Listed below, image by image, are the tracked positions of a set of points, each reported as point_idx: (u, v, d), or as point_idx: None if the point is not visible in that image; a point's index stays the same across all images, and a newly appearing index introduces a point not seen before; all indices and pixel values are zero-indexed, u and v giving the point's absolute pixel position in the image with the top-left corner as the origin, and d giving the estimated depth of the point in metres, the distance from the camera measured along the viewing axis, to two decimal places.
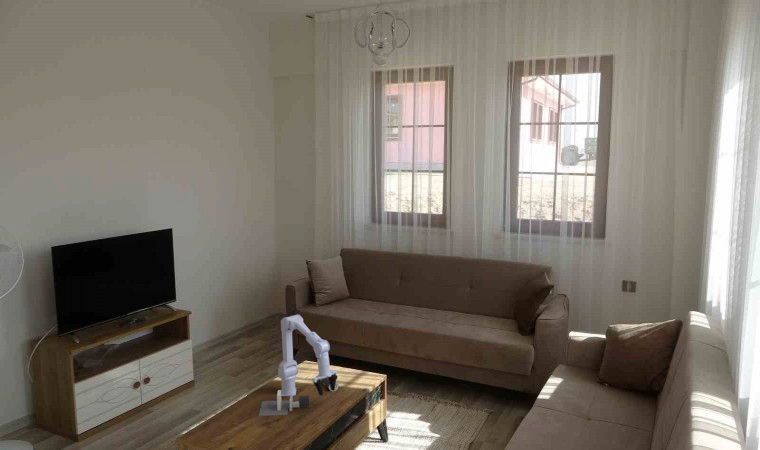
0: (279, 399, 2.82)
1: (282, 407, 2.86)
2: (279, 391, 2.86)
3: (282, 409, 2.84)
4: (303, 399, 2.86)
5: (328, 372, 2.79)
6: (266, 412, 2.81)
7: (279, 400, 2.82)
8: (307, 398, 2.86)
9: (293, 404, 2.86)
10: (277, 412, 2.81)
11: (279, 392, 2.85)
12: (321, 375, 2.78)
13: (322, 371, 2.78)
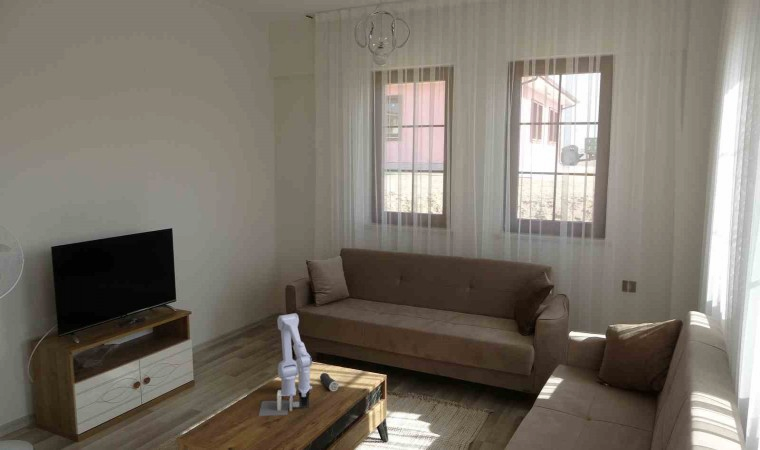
0: (279, 399, 2.82)
1: (282, 407, 2.86)
2: (279, 391, 2.86)
3: (282, 409, 2.84)
4: None
5: (309, 384, 2.86)
6: (266, 412, 2.81)
7: (279, 400, 2.82)
8: None
9: (293, 404, 2.86)
10: (277, 412, 2.81)
11: (279, 392, 2.85)
12: (305, 388, 2.83)
13: (306, 384, 2.83)
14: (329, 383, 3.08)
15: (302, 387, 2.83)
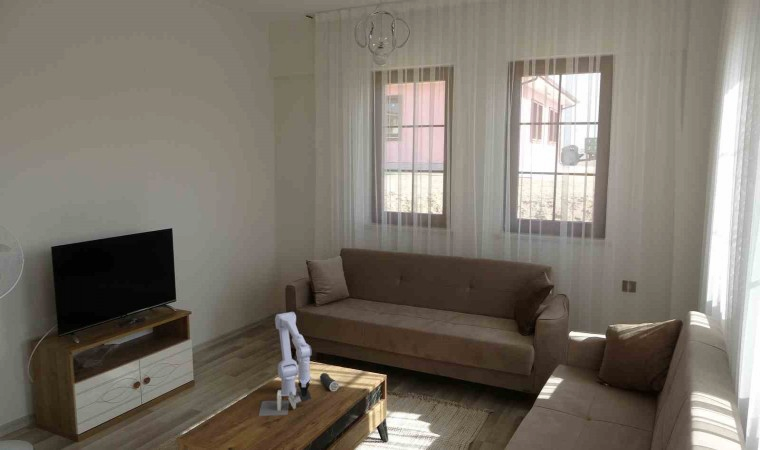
0: (279, 399, 2.82)
1: (282, 407, 2.86)
2: (279, 391, 2.86)
3: (282, 409, 2.84)
4: None
5: (309, 375, 2.86)
6: (266, 412, 2.81)
7: (279, 400, 2.82)
8: None
9: (294, 400, 2.85)
10: (277, 412, 2.81)
11: (279, 392, 2.85)
12: (305, 379, 2.83)
13: (306, 375, 2.83)
14: (329, 383, 3.08)
15: (302, 377, 2.82)
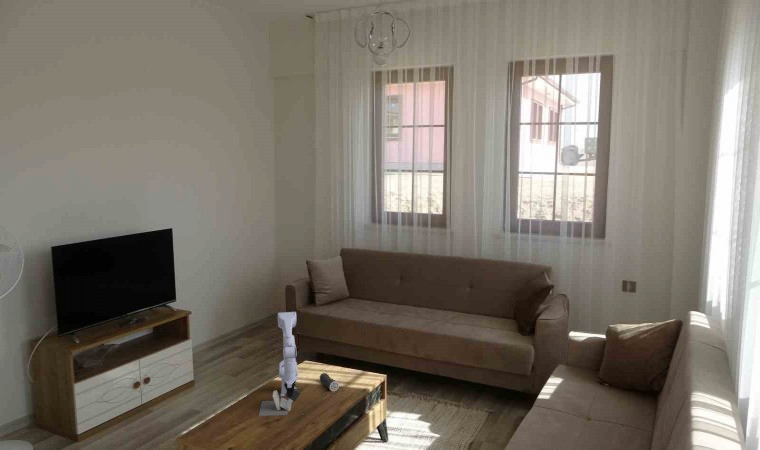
0: (276, 399, 2.82)
1: None
2: (275, 391, 2.86)
3: (282, 409, 2.84)
4: None
5: (295, 375, 2.85)
6: (266, 412, 2.81)
7: (276, 400, 2.82)
8: None
9: (287, 403, 2.85)
10: (277, 412, 2.81)
11: (275, 392, 2.85)
12: (291, 379, 2.82)
13: (292, 375, 2.82)
14: (329, 383, 3.08)
15: (288, 378, 2.82)
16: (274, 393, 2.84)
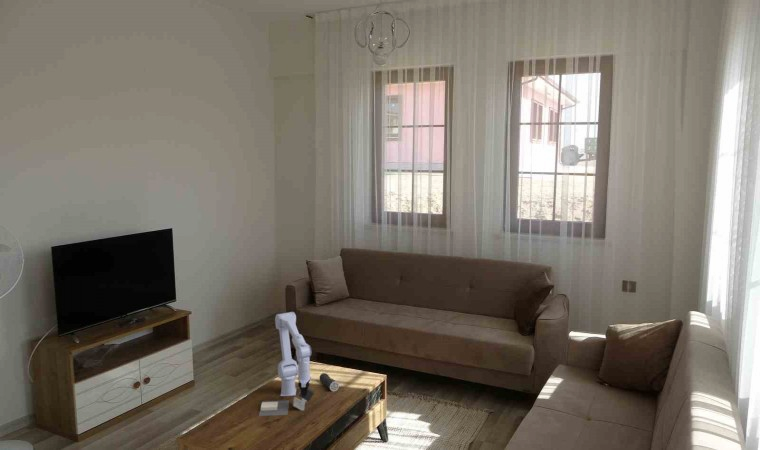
0: (265, 408, 2.82)
1: (282, 407, 2.86)
2: (261, 405, 2.86)
3: (282, 409, 2.84)
4: None
5: None
6: (266, 412, 2.81)
7: (266, 408, 2.82)
8: None
9: (301, 403, 2.86)
10: (277, 412, 2.81)
11: None
12: (305, 379, 2.83)
13: (306, 375, 2.83)
14: (329, 383, 3.07)
15: (302, 377, 2.82)
16: (261, 407, 2.85)
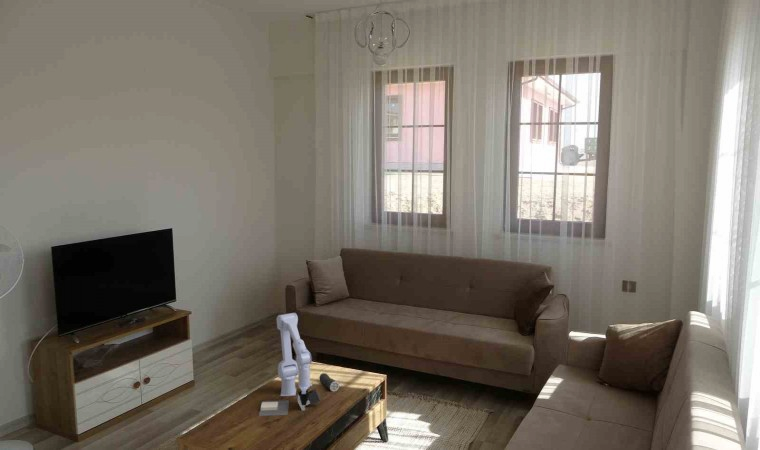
0: (265, 408, 2.82)
1: (282, 407, 2.86)
2: (261, 405, 2.86)
3: (282, 409, 2.84)
4: (310, 394, 2.86)
5: (309, 381, 2.86)
6: (266, 412, 2.81)
7: (266, 408, 2.82)
8: (314, 392, 2.86)
9: None
10: (277, 412, 2.81)
11: None
12: (305, 385, 2.83)
13: (306, 381, 2.83)
14: (330, 383, 3.07)
15: (302, 384, 2.83)
16: (261, 407, 2.85)
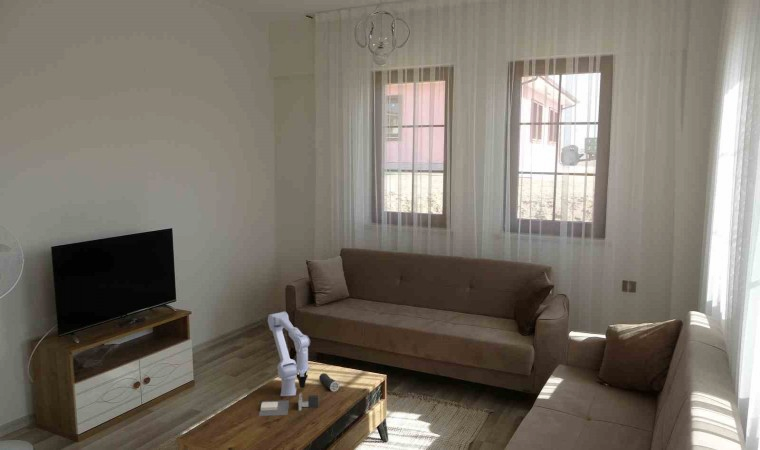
0: (265, 408, 2.82)
1: (282, 407, 2.86)
2: (261, 405, 2.86)
3: (282, 409, 2.84)
4: (312, 399, 2.86)
5: (307, 364, 2.91)
6: (266, 412, 2.81)
7: (266, 408, 2.82)
8: (316, 398, 2.86)
9: (302, 404, 2.86)
10: (277, 412, 2.81)
11: None
12: (303, 368, 2.88)
13: (305, 364, 2.88)
14: (330, 383, 3.07)
15: (300, 367, 2.88)
16: (261, 407, 2.85)
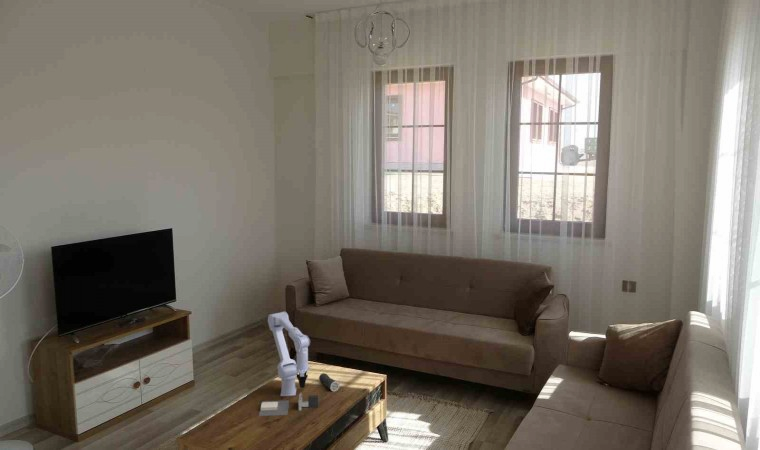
0: (265, 408, 2.82)
1: (282, 407, 2.86)
2: (261, 405, 2.86)
3: (282, 409, 2.84)
4: (312, 399, 2.86)
5: (307, 364, 2.91)
6: (266, 412, 2.81)
7: (266, 408, 2.82)
8: (316, 398, 2.86)
9: (302, 404, 2.86)
10: (277, 412, 2.81)
11: None
12: (303, 368, 2.88)
13: (305, 364, 2.88)
14: (330, 383, 3.07)
15: (300, 367, 2.88)
16: (261, 407, 2.85)
